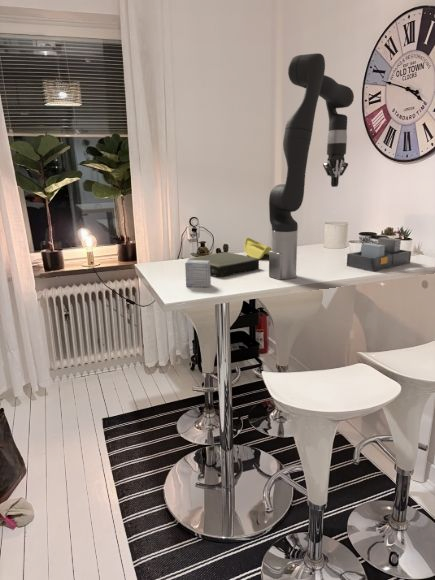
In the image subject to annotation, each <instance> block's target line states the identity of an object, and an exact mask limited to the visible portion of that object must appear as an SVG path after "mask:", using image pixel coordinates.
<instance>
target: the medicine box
mask: <svg viewBox="0 0 435 580" xmlns="http://www.w3.org/2000/svg"><path fill="white" fill-rule="evenodd" d="M184 265H185V268H184V269H185V285H186V286H185V287H186V288H209V287H210V286H211V285H212V281H211V278H212V277H211V274H210V261H202V260H189V261H188V260H187V261H186V262H185V263H184Z"/></svg>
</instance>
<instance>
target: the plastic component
mask: <svg viewBox="0 0 435 580" xmlns="http://www.w3.org/2000/svg"><path fill="white" fill-rule="evenodd" d="M243 247H244V253H246V256H249V257H254V258H258V259H259V260H260V259H262V258H263V257H264V255H265V256H267V255H268V256H269V252H270V251H271V247H270V246H267V245H265V244H263V243H261V242H258V241H256V240H255V239H253V238H250V237H245V239H244V246H243Z"/></svg>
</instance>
